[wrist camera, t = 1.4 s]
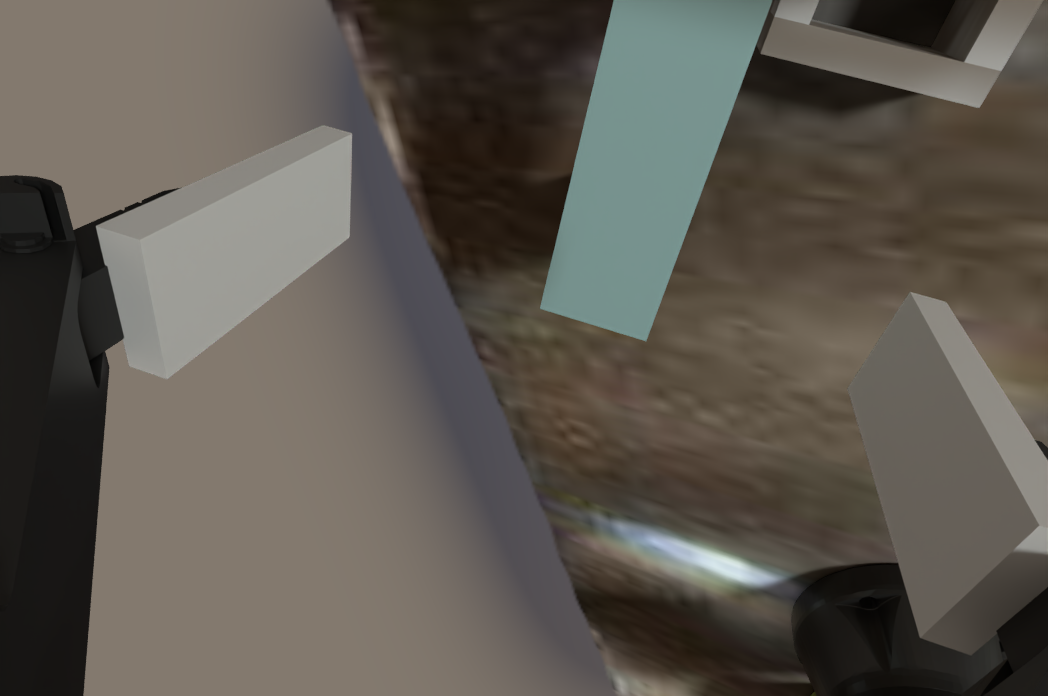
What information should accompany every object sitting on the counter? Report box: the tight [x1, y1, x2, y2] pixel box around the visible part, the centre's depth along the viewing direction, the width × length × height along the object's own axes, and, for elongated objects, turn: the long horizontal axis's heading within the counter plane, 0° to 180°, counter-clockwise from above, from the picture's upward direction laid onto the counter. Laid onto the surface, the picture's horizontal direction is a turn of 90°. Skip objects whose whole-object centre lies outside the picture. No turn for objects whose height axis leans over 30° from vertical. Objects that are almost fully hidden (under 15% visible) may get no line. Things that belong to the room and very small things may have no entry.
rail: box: [540, 0, 772, 341], centre depth 28 cm, size 16×5×13 cm, turn 169°
